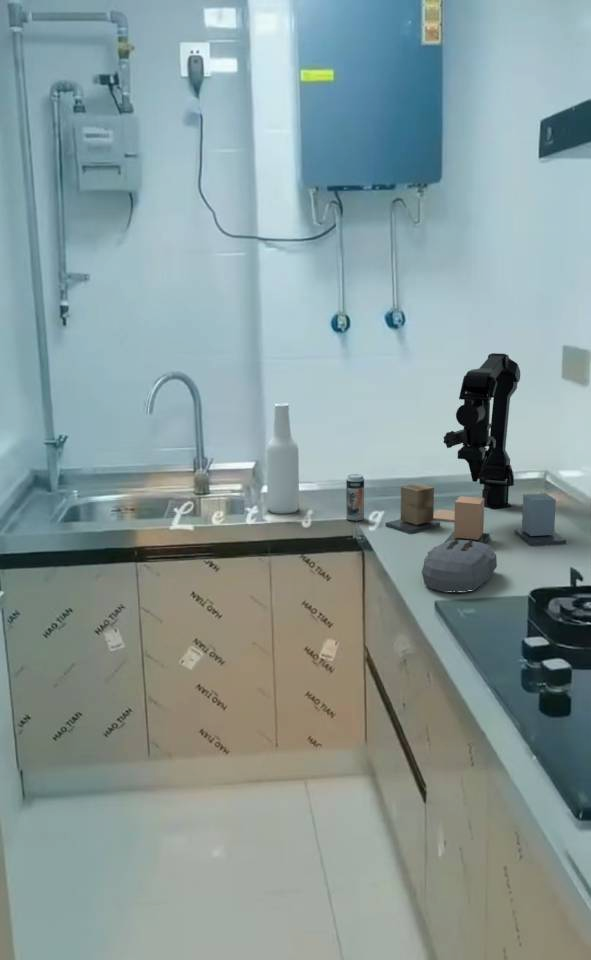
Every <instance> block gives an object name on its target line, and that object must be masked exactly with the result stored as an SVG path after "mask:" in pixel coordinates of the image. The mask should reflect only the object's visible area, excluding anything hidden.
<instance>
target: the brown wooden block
mask: <svg viewBox="0 0 591 960" xmlns="http://www.w3.org/2000/svg"><path fill="white" fill-rule="evenodd" d="M434 497H435V487H434V486H429V485H426V484H421V483H417V482H416V483H413V484H408V485H404V486H401V487H400V519H401V520H402V521H405V522H409V523H412V524H415V525H419V524H423V523H427V522H431V521H433V514H434V513H435V510H434V509H435V508H434V504H435V501H434V499H435V498H434Z"/></svg>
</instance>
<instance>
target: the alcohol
mask: <svg viewBox="0 0 591 960" xmlns="http://www.w3.org/2000/svg"><path fill="white" fill-rule="evenodd" d="M273 406H274V422H273V435H272V437H271V439H270V440H269V442H268V443H267V445H266V451H265V452H266V487H267V488H266V491H267V493H266V494H267V500H266V501H267V509H268V511H269V512H270V513H272V514H278V515H279V514H280V515H286V514H287V515H288V514H294V513H296V512H297V511H298V510H299V508H300V485H299V484H300V479H299V478H300V477H299V476H300V475H299V473H300V472H299V470H300V469H299V462H300V461H299V446H298V443H297V442H296V440H295V439H294V438H293V437H292V433H291V423H290V415H289V413H290V412H289V411H290V408H289V406H290V404H289V403H287V402H277V403H275V404H274V405H273Z"/></svg>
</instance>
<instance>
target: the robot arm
mask: <svg viewBox="0 0 591 960" xmlns="http://www.w3.org/2000/svg"><path fill="white" fill-rule="evenodd" d="M520 380H521V370H520V367H519V364H518V363H517V362H516V361H514V360H512V359H511V358H510V357H509V354H506V353H498V352H497V353H496V352H494V353H493V352H492V353H489V354H488V355H487V359H486V360H485V361H484V362H483V363H482V364H481V366H480V367H478V368H475V369H470V370H468V371H467V372H466V374H465V375H464V376H463V379H462V383H461V389H460V392H459V396H458V399H459V400H460V401H462V400H463V405H462V404H461V405H460V406H459V407H458V408H457V410H456V413H455V418H456V421H457V422H458V424H459V425H461V426H462V427H463V429H460V430H456V431H454V430H451V431H450V432H449V431H448V432H446V433H445V435H444V436H443V444H445V445H446V448H447V449H449V448H450V449H452V448H453V447H455V446H458V445H461V444H462V447H461V448H459V450H457V459H458V460H464V461H466V462H467V464H468V467H469V472H470V476H471V480H472V482H475V483H476V482H478V481H479V485H483V489H482V491H481V492H482V495H481V498H484V507H487V508H489V509H499V508H500V509H501V508H509V507H512V504H511V503H509V489H510V487H514V485H515V484H514V483H515V477H514V476H515V475H514V472H513V471H514V470H513V469H512V465H511V458H510V456H509V455H508V452H507V450H506V446H507V436H508V435H507V434H508V424H509V413H510V403H511V397H512V396H513V394H514V393H515V392H516V390H517V389H518V384H519V382H520ZM492 398H493V400H492ZM491 401H492V411H491ZM490 413H491V414H490ZM490 417H491V420H490ZM490 421H491V422H490ZM487 447H488V448H487Z"/></svg>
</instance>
